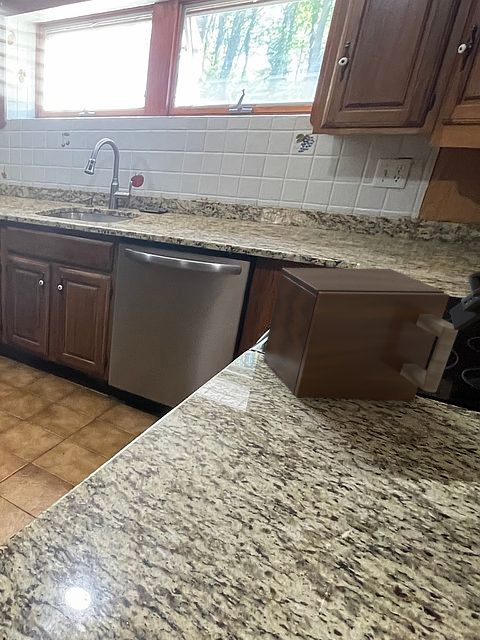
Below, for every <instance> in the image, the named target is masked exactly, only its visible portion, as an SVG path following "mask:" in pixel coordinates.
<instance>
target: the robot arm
mask: <svg viewBox="0 0 480 640" xmlns="http://www.w3.org/2000/svg"><path fill="white" fill-rule="evenodd" d="M467 280H468V284H469V288H470V289H469V290H470V292H469V293H468V294H467V295H466V296H464V297H463V298H462V299H461V302H459V303H458V304H456V305H455V306H453V307H452V308H451V309H450V310H449V314H450V317H451V322H452V324H453V327H454V330H458V331H463V330H464V329H466V328H467V327H469V326H470V325H471V324H473V323H475V322H476V321H478V320H479V319H480V270H479V271H476V272H474V273H471V274H469V275H468V276H467Z"/></svg>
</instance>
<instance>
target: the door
mask: <svg viewBox="0 0 480 640" xmlns="http://www.w3.org/2000/svg"><path fill="white" fill-rule="evenodd" d="M450 296H451V294H449V293H446V292H444V293H400V292H318V296H317V300H316V305H315V309H314V313H313V317H312V321H311V326H310V330H309V334H308V338H307V342H306V347H305V351H304V355H303V359H302V363H301V368H300V372H299V376H298V380H297V384H296V389H295V393H294V394H293V396H295V398H305V399H306V398H310V399H315V398H316V399H339V400H341V399H342V400H372V401H373V400H374V401H405V402H408V401H409V402H414V401H415V398H416V395H417V392H418V389H419V388H420V389H421V390H423V391H424V392H428V393H436V392H437V391H438V387H439V385H440V383H441V379H442V377H443V374H444V372H445V368H446V365H447V362H448V360H449V357H450V355H451V351H452V349H453V346H454V344H455V340H456V338H457V335H458V332H459V330H454V327H453V323H451V322H449V321H448V320H445V319H443V316H444V313H445V311H446V307H447V305H448V302H449V299H450ZM436 337H437V341H436V343H435V340H436ZM434 343H435V347H434V349H433V346H434ZM432 349H433V352H432V355H431V358H430V361H429V363H428V360H429V357H430V354H431V351H432ZM427 363H428V366H427ZM426 366H427V369H426ZM425 369H426V370H425Z"/></svg>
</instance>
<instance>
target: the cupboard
mask: <svg viewBox="0 0 480 640" xmlns="http://www.w3.org/2000/svg"><path fill="white" fill-rule="evenodd" d="M318 292H400V293H445V291H444V290H442V289H439V288H437V287H435V286H433V285H430V284H428V283H425V282H422V281H420V280H419V279H416V278H414V277H411V276H409V275H406V274H404V273H401V272H398V270H397V271H396V270H394V269H392V268H351V267H349V268H348V267H347V268H346V267H345V268H344V267H343V268H342V267H341V268H338V267H337V268H336V267H335V268H333V267H330V268H329V267H282V268H281V271H280V276H279V281H278V286H277V290H276V295H275V299H274V300H275V301H274V304H273V310H272V315H271V320H270V325H269V329H268V335H267V339H266V344H265V349H264V354H263V360H262V362H264V363H265V364H266V366H267V367H268V368H269V369H270V370H271V371H272V372H273V373H274V374H275V376H276V377H277V378H278V379H279V380H280V381H281V382H282V383H283V384H284V386H285V387H286V388H287V389H288V390H289V391H290V393H291V394H292V395H294V393H295V389H296V384H297V380H298V376H299V372H300V368H301V363H302V359H303V355H304V351H305V347H306V342H307V338H308V334H309V330H310V326H311V321H312V317H313V313H314V309H315V305H316V300H317V296H318Z"/></svg>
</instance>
